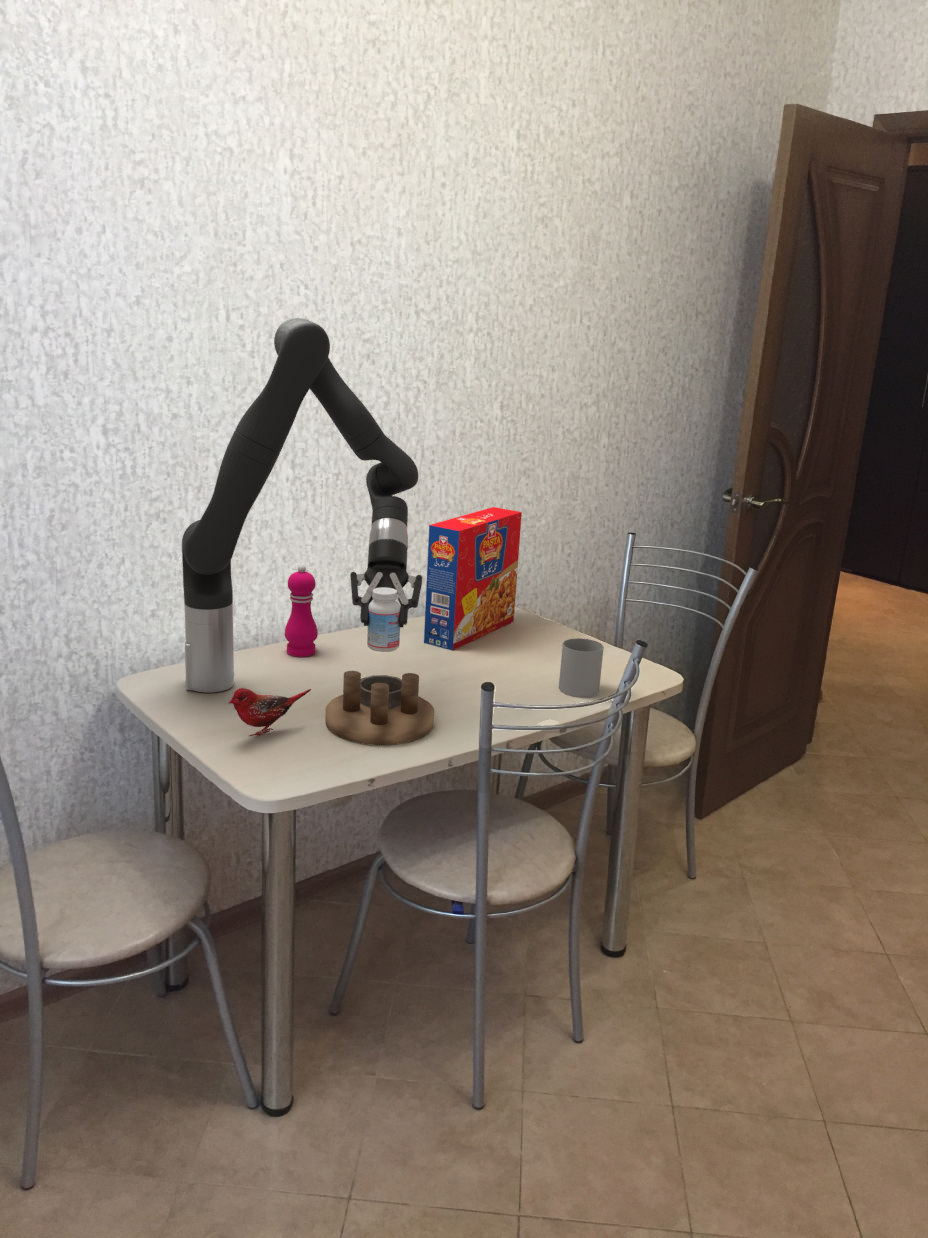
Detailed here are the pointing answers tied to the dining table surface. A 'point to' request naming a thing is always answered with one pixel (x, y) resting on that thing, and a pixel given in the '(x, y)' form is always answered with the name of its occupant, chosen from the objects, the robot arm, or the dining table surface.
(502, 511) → the pasta box
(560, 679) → the cup
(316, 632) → the pepper mill
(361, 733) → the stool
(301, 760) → the dining table surface
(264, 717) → the decorative bird figurine
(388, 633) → the pill bottle
